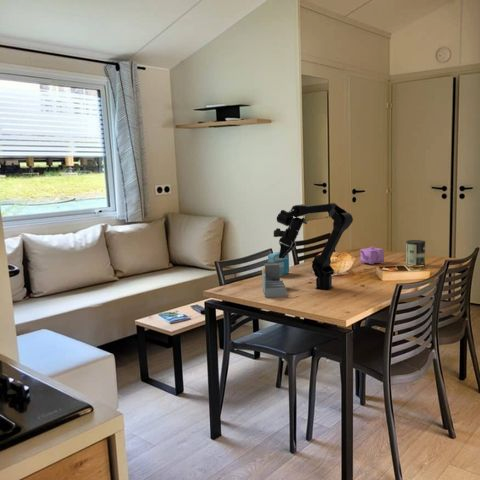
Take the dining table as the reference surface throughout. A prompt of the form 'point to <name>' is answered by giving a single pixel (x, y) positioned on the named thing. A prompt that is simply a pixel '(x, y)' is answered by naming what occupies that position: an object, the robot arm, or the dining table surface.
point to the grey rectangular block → (272, 271)
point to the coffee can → (415, 252)
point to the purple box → (372, 255)
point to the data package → (280, 262)
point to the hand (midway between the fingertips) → (280, 258)
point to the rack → (273, 287)
